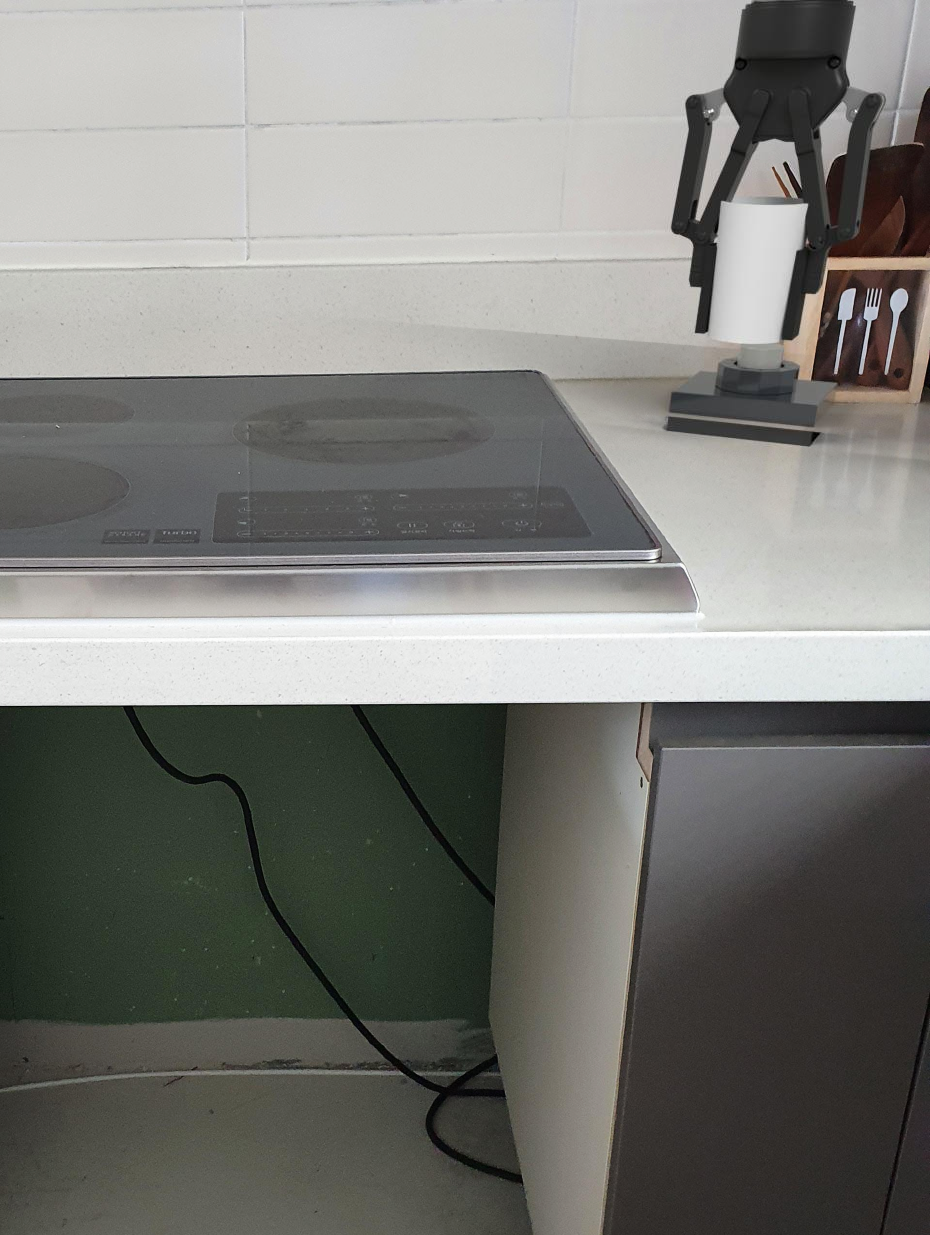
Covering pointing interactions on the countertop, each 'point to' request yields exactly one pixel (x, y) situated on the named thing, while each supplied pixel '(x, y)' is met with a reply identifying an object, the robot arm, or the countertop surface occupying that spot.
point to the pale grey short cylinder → (760, 356)
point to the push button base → (752, 403)
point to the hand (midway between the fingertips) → (746, 333)
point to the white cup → (755, 267)
